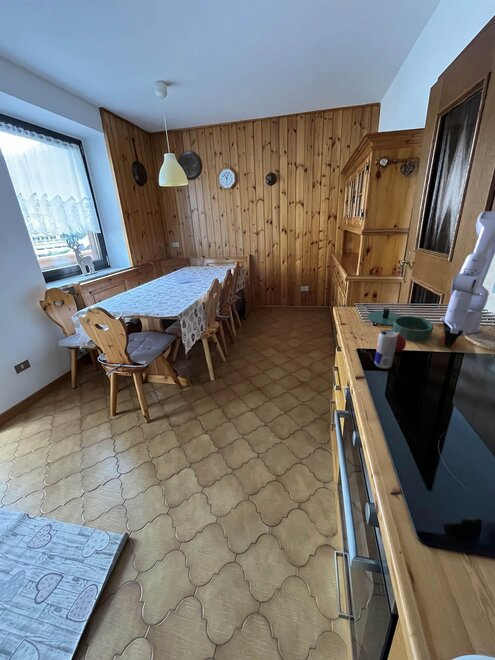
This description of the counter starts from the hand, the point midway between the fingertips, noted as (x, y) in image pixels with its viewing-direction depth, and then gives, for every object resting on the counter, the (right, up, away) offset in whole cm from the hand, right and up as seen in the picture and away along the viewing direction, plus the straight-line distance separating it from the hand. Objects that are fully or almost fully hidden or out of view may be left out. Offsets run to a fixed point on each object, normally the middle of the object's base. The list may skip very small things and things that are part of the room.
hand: (447, 342), depth 104 cm
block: (0, -1, 0) cm, 1 cm away
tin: (-9, +3, +9) cm, 13 cm away
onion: (-21, -4, -2) cm, 21 cm away
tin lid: (-13, +10, +21) cm, 27 cm away
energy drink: (-28, -7, -8) cm, 30 cm away
